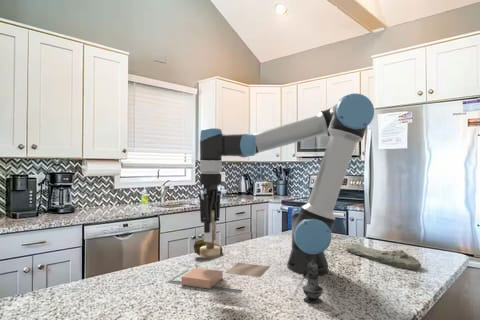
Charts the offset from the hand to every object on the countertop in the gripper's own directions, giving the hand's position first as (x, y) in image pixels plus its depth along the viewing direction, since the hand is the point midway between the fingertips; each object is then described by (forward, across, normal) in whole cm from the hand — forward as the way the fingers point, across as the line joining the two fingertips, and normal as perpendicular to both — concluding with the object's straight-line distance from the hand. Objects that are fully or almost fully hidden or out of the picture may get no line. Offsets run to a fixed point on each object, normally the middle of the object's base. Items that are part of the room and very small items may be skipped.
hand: (210, 240), depth 118 cm
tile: (+11, +1, 0) cm, 11 cm away
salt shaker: (+13, +6, +36) cm, 39 cm away
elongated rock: (+14, -48, +56) cm, 75 cm away
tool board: (+13, -11, +10) cm, 20 cm away
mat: (+13, +4, +2) cm, 14 cm away
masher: (+5, 0, 0) cm, 5 cm away
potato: (+13, -23, -12) cm, 29 cm away
